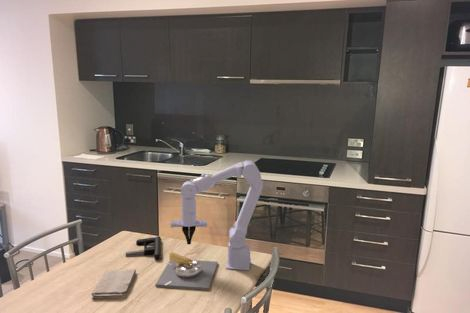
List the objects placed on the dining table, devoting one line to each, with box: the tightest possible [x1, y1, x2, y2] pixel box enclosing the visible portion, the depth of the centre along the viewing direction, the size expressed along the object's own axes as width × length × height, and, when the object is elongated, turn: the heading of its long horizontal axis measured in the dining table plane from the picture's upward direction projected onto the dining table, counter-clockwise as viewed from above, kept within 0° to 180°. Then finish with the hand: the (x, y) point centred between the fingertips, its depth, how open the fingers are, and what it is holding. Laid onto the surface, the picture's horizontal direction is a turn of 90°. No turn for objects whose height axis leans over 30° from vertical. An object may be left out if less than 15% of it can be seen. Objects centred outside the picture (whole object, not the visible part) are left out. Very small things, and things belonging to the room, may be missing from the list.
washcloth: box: [91, 268, 137, 300], centre depth 131 cm, size 12×18×3 cm, turn 4°
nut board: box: [155, 259, 218, 291], centre depth 139 cm, size 20×20×1 cm
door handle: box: [125, 235, 163, 261], centre depth 159 cm, size 3×20×16 cm
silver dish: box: [169, 252, 201, 278], centre depth 140 cm, size 14×10×5 cm
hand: (189, 243), depth 144 cm, fingers closed
